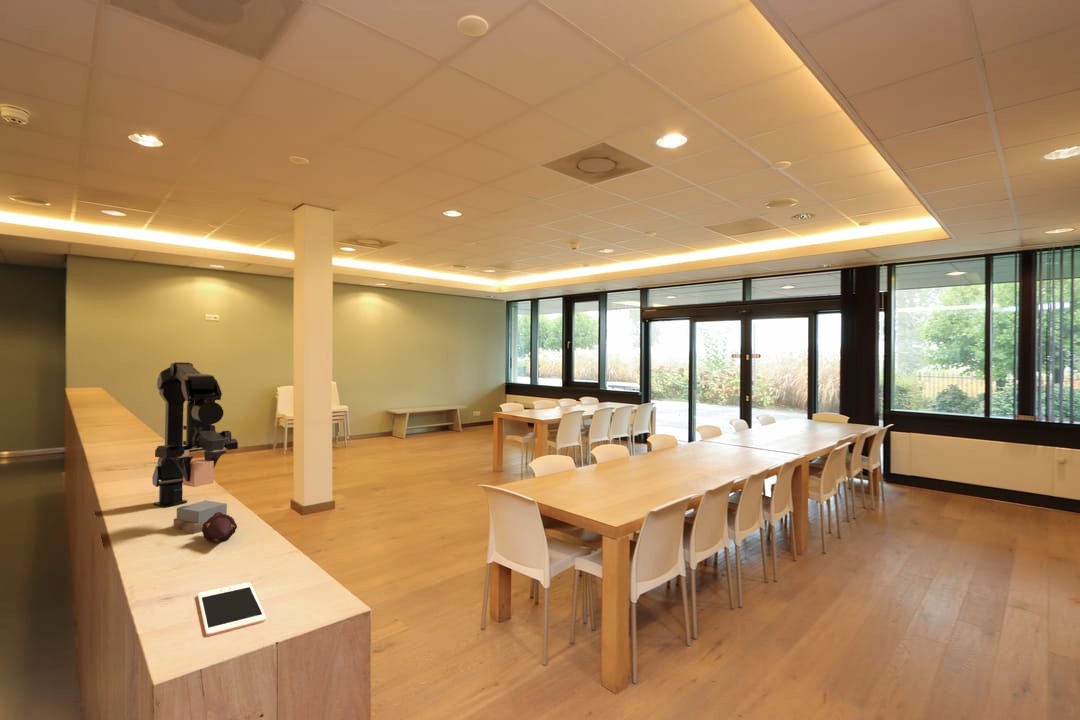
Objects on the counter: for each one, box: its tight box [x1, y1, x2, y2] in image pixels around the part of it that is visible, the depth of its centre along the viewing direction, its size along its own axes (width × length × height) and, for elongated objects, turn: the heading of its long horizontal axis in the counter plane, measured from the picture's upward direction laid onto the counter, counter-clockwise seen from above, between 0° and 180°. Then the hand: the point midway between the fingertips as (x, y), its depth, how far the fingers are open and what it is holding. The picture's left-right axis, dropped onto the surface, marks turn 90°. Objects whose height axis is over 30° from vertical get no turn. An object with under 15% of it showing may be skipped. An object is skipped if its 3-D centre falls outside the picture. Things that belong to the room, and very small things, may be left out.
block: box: [183, 459, 215, 488], centre depth 139 cm, size 5×5×6 cm
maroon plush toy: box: [201, 512, 238, 544], centre depth 127 cm, size 7×7×15 cm
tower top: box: [176, 500, 228, 523], centre depth 138 cm, size 8×8×3 cm
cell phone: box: [197, 581, 267, 637], centre depth 93 cm, size 9×18×1 cm, turn 38°
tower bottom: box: [172, 514, 230, 535], centre depth 138 cm, size 9×9×3 cm
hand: (198, 479), depth 139 cm, fingers closed on block, 5 cm apart
